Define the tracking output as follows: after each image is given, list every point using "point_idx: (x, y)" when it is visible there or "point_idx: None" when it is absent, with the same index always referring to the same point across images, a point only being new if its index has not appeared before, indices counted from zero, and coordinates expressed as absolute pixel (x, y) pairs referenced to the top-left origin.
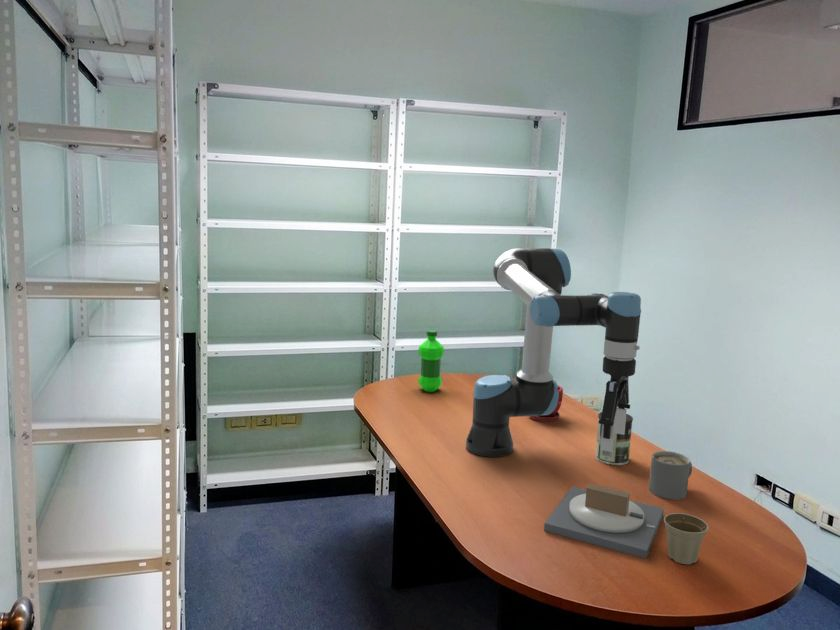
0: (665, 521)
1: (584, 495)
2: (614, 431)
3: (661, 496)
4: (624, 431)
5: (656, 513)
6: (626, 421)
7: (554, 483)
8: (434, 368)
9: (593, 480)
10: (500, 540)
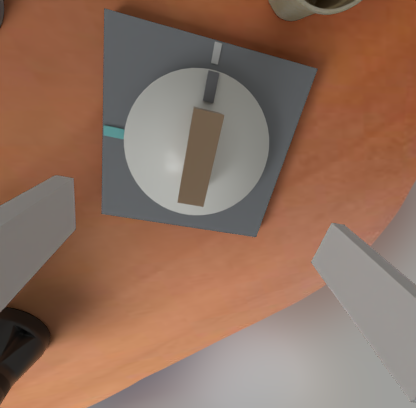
0: (338, 9)
1: (154, 194)
2: (71, 227)
3: (1, 8)
4: (53, 182)
5: (143, 33)
6: None
7: (82, 236)
8: None
9: (19, 174)
10: (290, 270)
